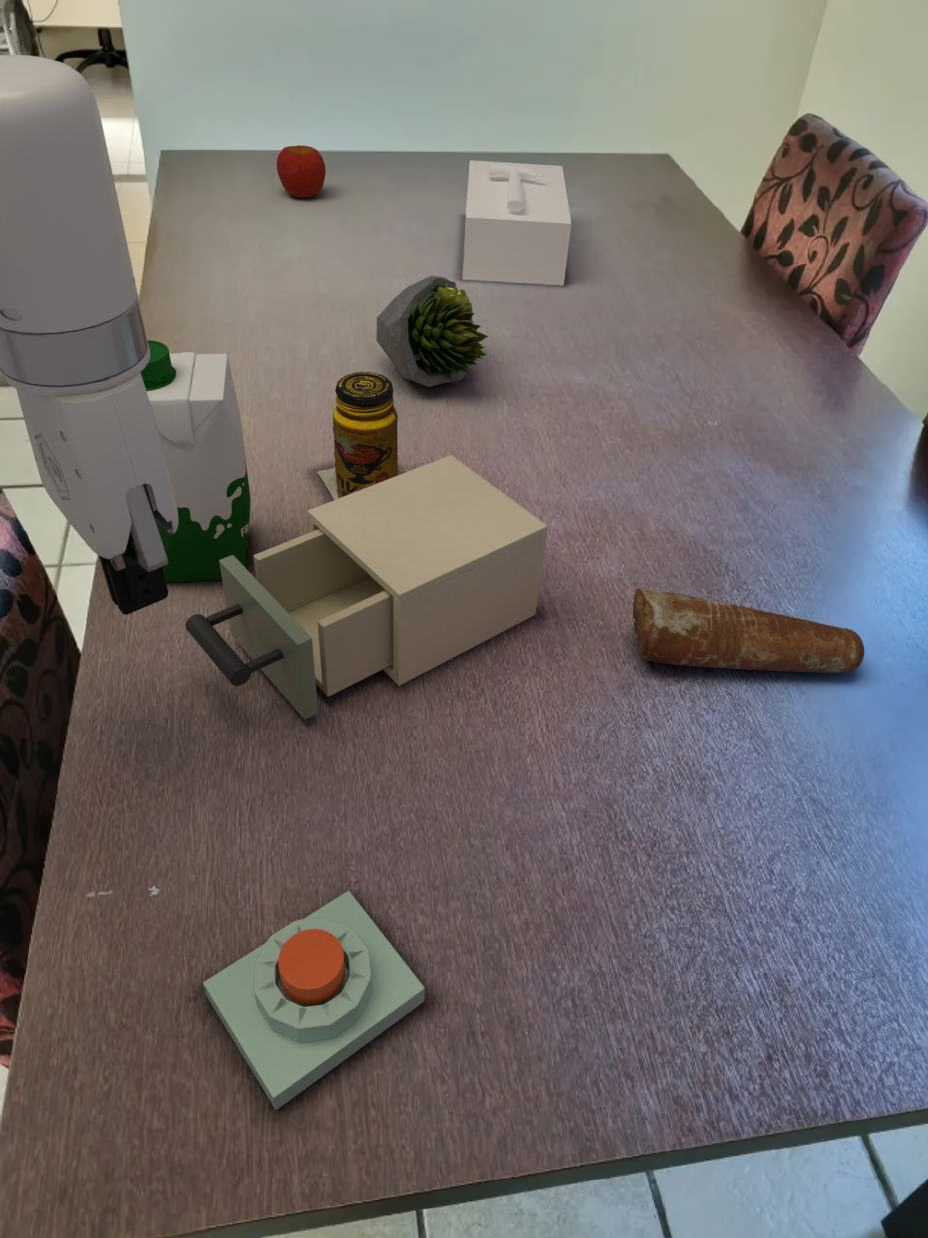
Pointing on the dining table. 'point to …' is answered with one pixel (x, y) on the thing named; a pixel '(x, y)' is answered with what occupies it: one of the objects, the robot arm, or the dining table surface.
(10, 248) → the robot arm
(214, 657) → the drawer
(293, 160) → the apple
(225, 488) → the milk carton
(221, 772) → the dining table surface
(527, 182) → the white embossed block
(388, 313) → the potted plant
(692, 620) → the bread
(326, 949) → the button
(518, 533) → the cabinet
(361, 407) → the condiment
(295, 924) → the block
